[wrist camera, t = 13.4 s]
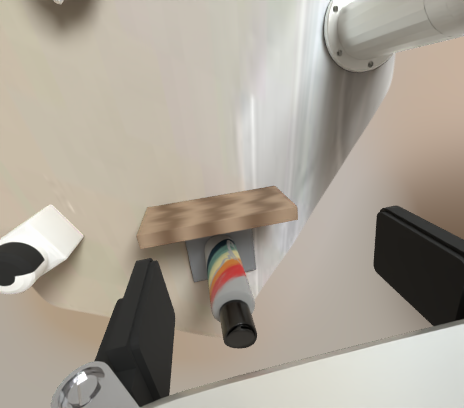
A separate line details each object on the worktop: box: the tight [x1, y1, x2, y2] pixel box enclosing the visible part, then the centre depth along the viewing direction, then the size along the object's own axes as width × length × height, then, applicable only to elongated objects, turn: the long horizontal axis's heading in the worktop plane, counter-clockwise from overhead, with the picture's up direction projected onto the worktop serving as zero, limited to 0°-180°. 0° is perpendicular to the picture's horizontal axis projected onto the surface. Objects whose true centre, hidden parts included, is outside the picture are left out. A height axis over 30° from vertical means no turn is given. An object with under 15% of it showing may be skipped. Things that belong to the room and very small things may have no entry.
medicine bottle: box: [0, 205, 84, 294], centre depth 36 cm, size 7×7×12 cm
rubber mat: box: [185, 228, 256, 282], centre depth 48 cm, size 12×12×1 cm
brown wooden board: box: [137, 186, 298, 249], centre depth 40 cm, size 22×2×10 cm, turn 97°
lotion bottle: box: [205, 235, 257, 348], centre depth 38 cm, size 6×6×20 cm
